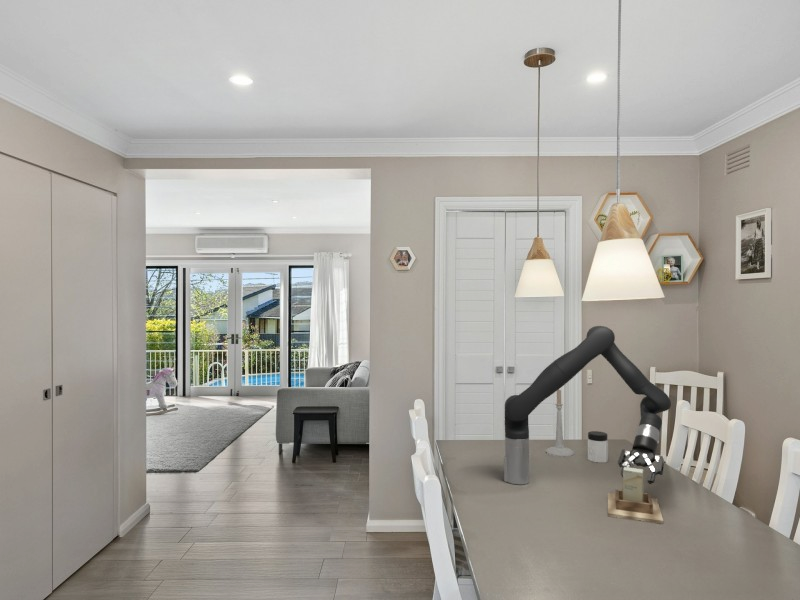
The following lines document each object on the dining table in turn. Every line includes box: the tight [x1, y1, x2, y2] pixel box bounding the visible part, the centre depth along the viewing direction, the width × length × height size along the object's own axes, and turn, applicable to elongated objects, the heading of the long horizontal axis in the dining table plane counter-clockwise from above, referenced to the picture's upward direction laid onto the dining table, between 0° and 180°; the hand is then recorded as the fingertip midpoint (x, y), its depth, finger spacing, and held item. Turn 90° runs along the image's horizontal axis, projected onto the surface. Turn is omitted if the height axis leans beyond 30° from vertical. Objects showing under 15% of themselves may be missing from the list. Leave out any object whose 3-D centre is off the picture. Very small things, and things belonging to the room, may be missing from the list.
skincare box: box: [622, 467, 644, 503], centre depth 171 cm, size 6×4×12 cm
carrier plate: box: [607, 489, 664, 524], centre depth 171 cm, size 16×20×4 cm
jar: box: [587, 430, 609, 464], centre depth 228 cm, size 9×8×12 cm
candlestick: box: [545, 389, 575, 457], centre depth 240 cm, size 13×13×30 cm
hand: (636, 480), depth 174 cm, fingers open, 8 cm apart
